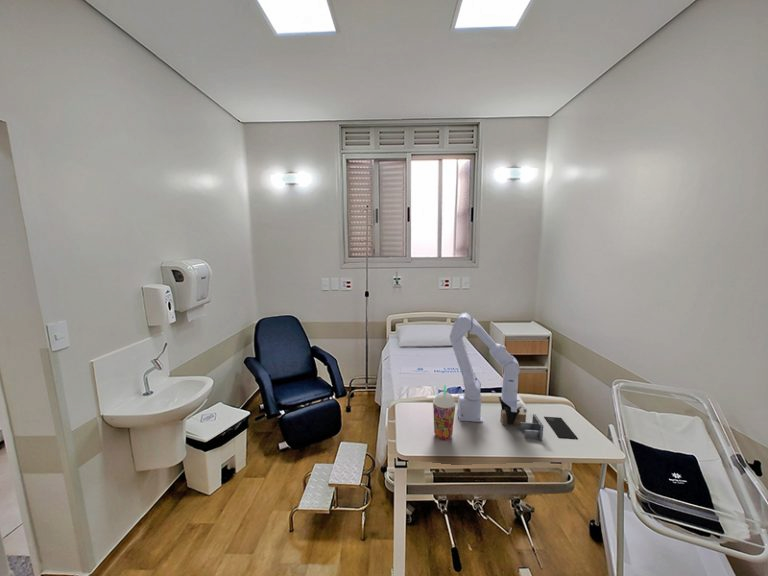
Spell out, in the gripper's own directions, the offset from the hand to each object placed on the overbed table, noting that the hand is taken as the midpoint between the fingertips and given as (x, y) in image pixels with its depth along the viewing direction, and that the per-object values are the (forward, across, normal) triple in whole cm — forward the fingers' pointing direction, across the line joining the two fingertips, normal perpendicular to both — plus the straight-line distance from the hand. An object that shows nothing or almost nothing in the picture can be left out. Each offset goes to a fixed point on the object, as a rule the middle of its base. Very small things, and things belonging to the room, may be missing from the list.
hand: (507, 419), depth 129 cm
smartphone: (+2, -1, -20) cm, 20 cm away
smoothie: (+2, -12, +27) cm, 30 cm away
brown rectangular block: (+2, 0, -2) cm, 3 cm away
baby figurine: (+2, +13, -7) cm, 15 cm away
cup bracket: (+1, -7, -6) cm, 9 cm away
